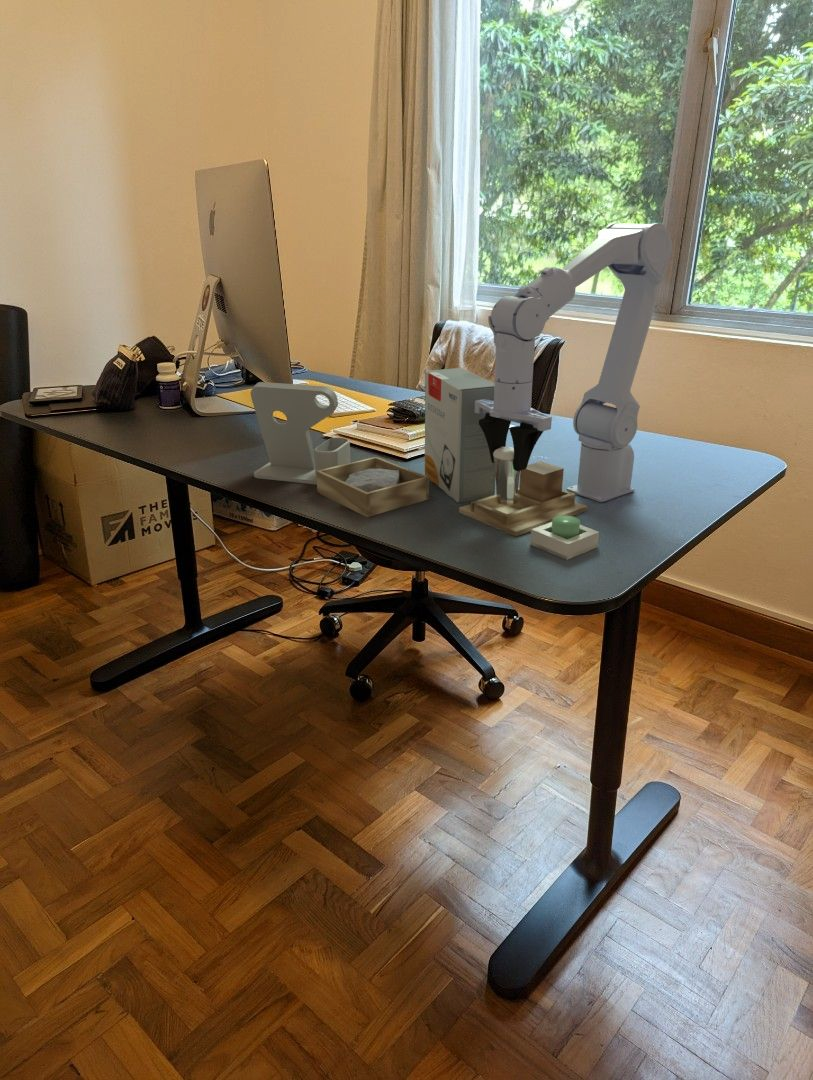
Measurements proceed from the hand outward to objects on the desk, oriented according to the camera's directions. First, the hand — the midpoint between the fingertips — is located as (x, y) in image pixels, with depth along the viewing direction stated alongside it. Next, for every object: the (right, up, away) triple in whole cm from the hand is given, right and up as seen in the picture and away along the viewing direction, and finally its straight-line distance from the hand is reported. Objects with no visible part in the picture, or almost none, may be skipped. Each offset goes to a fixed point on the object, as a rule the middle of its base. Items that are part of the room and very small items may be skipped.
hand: (508, 465), depth 118 cm
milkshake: (0, -6, +3) cm, 6 cm away
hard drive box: (-7, -2, +17) cm, 19 cm away
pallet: (+3, -7, +6) cm, 10 cm away
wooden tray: (-22, -4, +13) cm, 26 cm away
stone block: (-22, -4, +13) cm, 26 cm away
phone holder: (-36, +1, +24) cm, 43 cm away
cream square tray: (+7, -13, -7) cm, 16 cm away
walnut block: (+6, -5, +8) cm, 11 cm away
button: (+7, -11, -8) cm, 15 cm away
